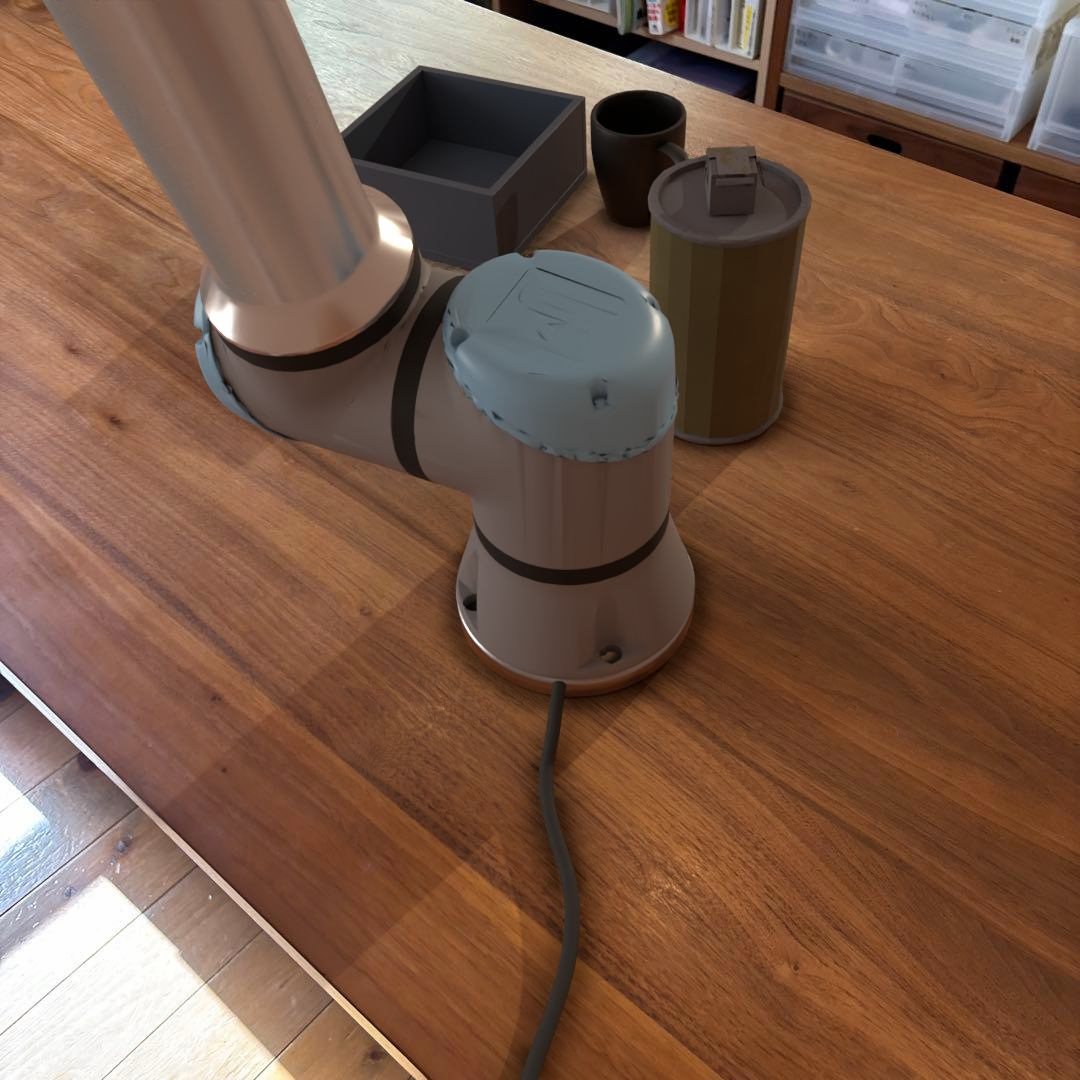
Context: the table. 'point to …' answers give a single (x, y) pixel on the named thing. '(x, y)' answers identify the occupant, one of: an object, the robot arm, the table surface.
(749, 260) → the canister
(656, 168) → the mug
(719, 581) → the table surface
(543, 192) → the basket
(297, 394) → the robot arm
